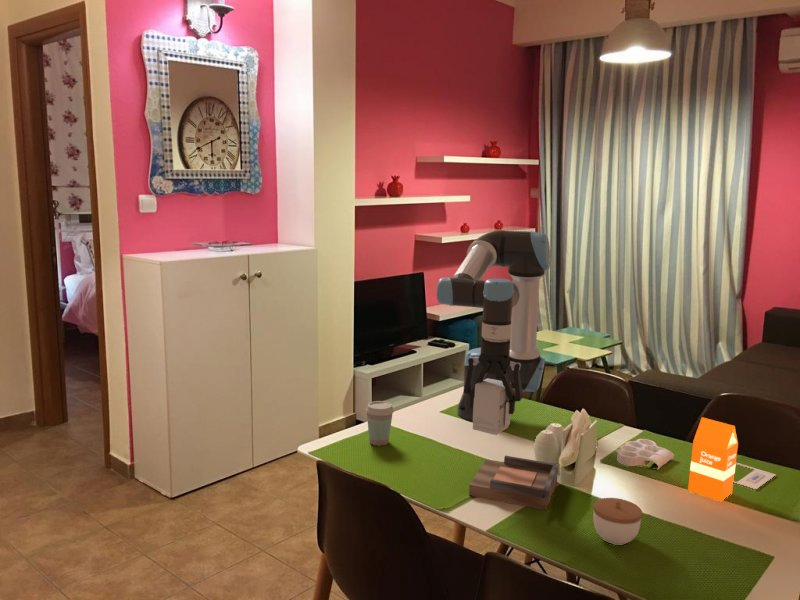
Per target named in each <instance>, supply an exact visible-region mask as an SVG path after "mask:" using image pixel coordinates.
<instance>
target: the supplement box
mask: <svg viewBox="0 0 800 600" xmlns="http://www.w3.org/2000/svg"><path fill="white" fill-rule="evenodd" d="M508 400H509V399H508V397H507V394H506V391H505V386H503V383H502V381H500V380H494V379H489V378H487V379H485V380H483V381H482V382H481V383H477V384H475V397H474V415H473V421H472V430H474V431H477V432H478V431H479V432H482V433H486V434H491V435H495V436H498V435H499V434H500V433H502V432H503V431H504V430H506V429H508V428H509V426H508V427H505V413H506V402H507V401H508Z"/></svg>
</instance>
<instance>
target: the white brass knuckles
mask: <svg viewBox="0 0 800 600" xmlns="http://www.w3.org/2000/svg"><path fill="white" fill-rule="evenodd" d="M614 452H616V453H617V456H616V457H617V458H616V462H617V461H618V462H619V463H621V464H624V465H628V466H635V465H644V466H646V465H647V464H648V463H649V462H650V461H652V462H654V463H655V464H656V465H657V466H658V468H657V470H660V468H661V467H663V466H664V465H666V464H667V463H669V461H671V460H673V459H674V456H675V454H674V453H673V452H672V451H671V450H670V449H667V448H665V447H661V446H658V445H657V443H656V442H655V441H653V440H652V439H648V438H637V439H636V440H630V441H629V440H628V441H625V443H624V444H621V445H620V447H619V449H618V448H617V449H615V450H614ZM618 462H617V463H618ZM619 463H618V464H619ZM621 464H620V465H621ZM628 466H627V467H628Z"/></svg>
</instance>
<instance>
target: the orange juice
mask: <svg viewBox="0 0 800 600" xmlns="http://www.w3.org/2000/svg"><path fill="white" fill-rule="evenodd" d="M699 421H700V422H699V424H698V427H697V429H696V432H695V435H694V439H693V440H692V441H693V442H692V451H691V461H690V468H689V479H688V487H687V489H688V490H687V492H688V491H691V492H694V493H697V494H700V495H703V496H706V497H709V498H712V499H715V500H718V501H720V502H721V501H722V500H723V501H724V499H725V498H726V497H727V498H728V496H729V495H730V494H731V495H732V494H733V487H734V484H733V481H735V480H734V478H735V473H736V466H737V465H736V462H737V455H738V448H739V442H738V437H737V433H736V426H735V425H732V424H728V423H726V422H721V421H717V420H714V419H709V418H707V417H701V418H700V420H699ZM691 492H690V493H691ZM694 493H693V494H694ZM697 494H696V495H697ZM700 495H699V496H700ZM731 495H730V496H731ZM703 496H702V497H703ZM730 496H729V497H730ZM706 497H705V498H706ZM709 498H708V499H709ZM727 498H726V499H727ZM712 499H711V500H712ZM726 499H725V500H726ZM715 500H714V501H715ZM718 501H717V502H718ZM723 501H722V502H723ZM720 502H719V503H720ZM722 502H721V503H722Z"/></svg>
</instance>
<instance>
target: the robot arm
mask: <svg viewBox="0 0 800 600" xmlns="http://www.w3.org/2000/svg"><path fill="white" fill-rule="evenodd" d="M550 248H551V247H550V241H549V237H548V236H547V234H545V233H543V232H534V231H526V230H525V231H523V230H518V231H517V230H505V229H504V230H503V229H502V230H501V229H500V230H499V229H498V230H494V231H493V230H492V231H490V232H487V233H485V234H482V235H481V236H479V237H477V238H476V239H474V240H473V242H472V243H471V244H469V246H468V248H467V250H466V257H464V260H463V261H462V262H461V264H460V265H459V267H458V269H457V270H456V271H455V272H454V274H453V276H452V277H450V276H449V277H441V278H440V279H439V280H438V282H437V284H436V285H437V286H436V300H437V302H438V304H440V305H446V306H447V305H448V306H451V307H453V306H454V307H467V308H469V307H470V308H478V309H482V320H481V321H482V322H481V337H482V339H481V340H480V347H477V348H476V347H475V348H472V349H469V350H468V351H467V352H466V353H465V356H464V363H463V366H464V367H463V368H464V369H463V371H464V373H463V376H464V377H463V391H462V395H461V396H460V400H459V402H458V405H457V412H456V414H457V415H458V416H459V417H460V418H462V419H465V420H467V421H472V422H473V415H474V397H475V384H477V383H481V382H482V381H483V380H485V379H487V378H489V379H494V380H500V381H502V383H503V386H505V391H506V394H507V397H508V399H509V400H508V401H507V402H506V413H505V427H508V428H509V425H510V424H511V415H513V414H514V413H515V411H516V410H515V407H516V402H520V401H521V400H522V399H523V393H524V392H531V393H532V392H533V393H534V392H537V391H538V390H539V388H540V385H541V382H542V378H543V374H544V373H543V372H544V368H545V361H546V359H545V358H544V357H541V351H540V350H539V348H537V339H538V338H537V337H538V320H539V319H538V318H539V317H538V316H539V315H538V314H539V297H540V296H539V295H540V279H542V278H543V277H544V276H545V273H546V271H548V270H549V269H550V267H551V249H550ZM491 267H502V268H503V267H504V268H507V274H508V275H509V276H510V277H511V278H512V280H510V279H507V278H488V279H487V280H483V277H484V276H485V275H486V273H487V271H488V269H490V268H491Z"/></svg>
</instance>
